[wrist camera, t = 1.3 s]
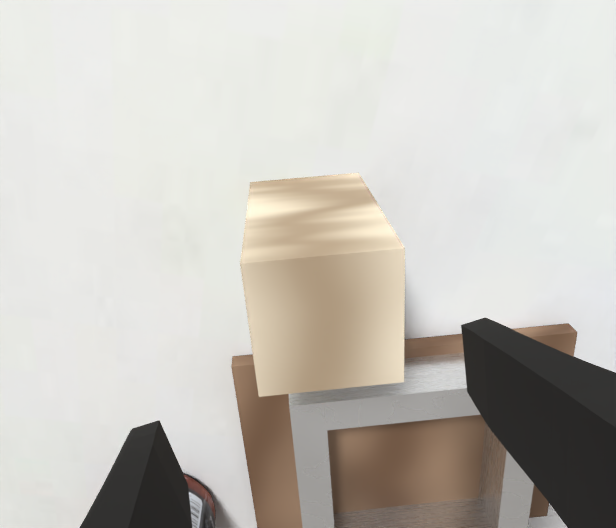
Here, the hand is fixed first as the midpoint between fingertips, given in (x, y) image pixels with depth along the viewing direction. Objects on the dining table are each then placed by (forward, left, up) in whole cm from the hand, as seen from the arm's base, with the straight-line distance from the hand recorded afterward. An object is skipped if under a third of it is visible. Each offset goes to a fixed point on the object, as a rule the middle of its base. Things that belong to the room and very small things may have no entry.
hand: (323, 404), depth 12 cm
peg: (0, 0, -11) cm, 11 cm away
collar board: (-4, +12, -11) cm, 17 cm away
